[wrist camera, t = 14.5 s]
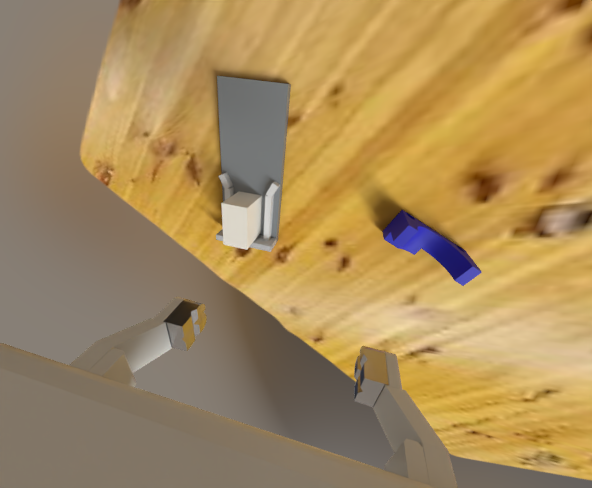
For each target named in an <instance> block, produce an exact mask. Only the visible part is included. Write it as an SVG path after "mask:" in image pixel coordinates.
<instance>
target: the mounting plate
mask: <svg viewBox="0 0 592 488" xmlns="http://www.w3.org/2000/svg"><path fill="white" fill-rule="evenodd" d="M217 85H218V106H219V127H220V147H221V168H222V175H219V178H220V180H221V182H222V189H223V202H224V201H225V200H227V199H228V198H230V197H231V196H233V195H234V194H236V193H237V192H239V191H240V192H246V193H251V194H256V195H262V207H261V232H260V234H259V236H258V237H257V238H256V239H255V240H254V242H253V243H252V244H251V245H250V247H252V248H256V249H261V250H265V251H270V252H271V250H272V249H273V247H274V246H275V244H276V242H277V241H278V233H279V220H280V208H281V196H282V184H283V172H284V160H285V148H286V135H287V123H288V111H289V99H290V87H291V85H290V84H285V83H276V82H267V81H259V80H250V79H242V78H233V77H224V76H217ZM216 240H220V241H223V229H222V230H221V231H220V232H219V233H217V234H216Z"/></svg>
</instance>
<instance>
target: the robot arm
mask: <svg viewBox="0 0 592 488" xmlns="http://www.w3.org/2000/svg"><path fill="white" fill-rule="evenodd" d="M204 310H205V305H204V304H201V303H198V302H194V301H191V300H188V299H184V298H180V297H176V298H174V299H173V300H172V301H171V302H170V303H169V304H168V305H167V306H166V307H165V308H164V309H163V310H162V311H161V312H160V313H159V314H158V315H157V316H156V317H155V318H154V319H148V320H146V321H143V322H141V323H138V324H136V325H134V326H131V327H129V328H127V329H124V330H122V331H119V332H117V333H115V334H113V335H110V336H108V337H105V338H103V339H101V340H98V341H96V342H95V343H94V344H93V345H92V346H90V347H89V348H88V349H87V350H86V351H85V352H84V353H82V354H81V355H80V356H79V357H78V358H77V359H76V360H74V361H73V362H72V363H71V364H70V365H66V364H63V363H60V362H57V361H54V360H51V359H48V358H45V357H42V356H39V355H36V354H33V353H30V352H27V351H24V350H21V349H18V348H15V347H12V346H10V345H7V344H4V343H0V488H458V487H457V483H456V479H455V475H454V472H453V468H452V464H451V460H450V457H449V453H448V450H447V448H446V447H445V446H444V444H443V443H442V441H441V440H440V439H439V437H438V436H437V434H436V433H435V431H434V430H433V429H432V427H431V426H430V424H429V423H428V422H427V420H426V419H425V417H424V416H423V415H422V413H421V412H420V410H419V409H418V407H417V406H416V405H415V403H414V402H413V400H412V399H411V398H410V396H409V395H408V393H407V392H406V391H405V390H402V386H401V379H400V373H399V367H398V361H397V356H396V355H395V354H392V353H388V352H385V351H382V350H378V349H374V348H370V347H366V346H362V347H361V349H360V356H358V357H357V360H356V364H355V375H354V377H355V379H356V380H357V381H356V383H355V386H354V401H356V402H358V403H362V404H365V405H368V406H371V407H373V409H374V411H375V414H376V416H377V418H378V420H379V422H380V424H381V426H382V428H383V430H384V433H385V435H386V436H387V439H388V441H389V443H390V445H391V447H392V449H393V451H394V455H393V456H392V457H391V458H390V459H389V461H388V462H387V463H386V465H385V470H382V469H379V468H376V467H373V466H370V465H367V464H364V463H361V462H358V461H355V460H352V459H349V458H346V457H343V456H340V455H337V454H334V453H331V452H328V451H325V450H322V449H319V448H316V447H313V446H310V445H307V444H304V443H301V442H298V441H295V440H292V439H289V438H286V437H283V436H280V435H277V434H274V433H271V432H268V431H265V430H262V429H259V428H255V427H253V426H250V425H247V424H243V423H241V422H238V421H235V420H232V419H229V418H226V417H223V416H220V415H217V414H214V413H211V412H208V411H205V410H202V409H199V408H195V407H193V406H190V405H187V404H184V403H181V402H178V401H175V400H172V399H169V398H166V397H163V396H160V395H157V394H154V393H151V392H148V391H145V390H142V389H139V388H136V387H134V386H135V385H136V379H135V377H134V375H133V373H134V372H135V371H136V370H138V369H140V368H141V367H143V366H144V365H146V364H148V363H149V362H151V361H152V360H154V359H156V358H157V357H159V356H160V355H162V354H163V353H165V352H167V351H168V350H170V349H171V348H172V347H173V348H176V349H180V350H184V351H188V350H189V348H190V347H191V345H192V344H193V342H194V341H195V336H196V335H198V334H200V333H201V331H202V330H203V329H204V326H205V324H206V315H205V313H204Z"/></svg>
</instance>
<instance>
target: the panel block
mask: <svg viewBox="0 0 592 488" xmlns="http://www.w3.org/2000/svg"><path fill="white" fill-rule="evenodd" d="M221 205H222V225H223V244H224V245H229V246H233V247H238V248H242V249H248V248H249V247H250V245H251V244H252V243H253V242H254V240H255V239H256V238H257V237H258V236H259V234H260V232H261V207H262V195H256V194H251V193H246V192H240V191H239V192H237V193H236V194H234V195H233V196H231V197H230V198H228V199H227V200H225V201H224V202H222V203H221Z"/></svg>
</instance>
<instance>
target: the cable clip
mask: <svg viewBox="0 0 592 488" xmlns="http://www.w3.org/2000/svg"><path fill="white" fill-rule="evenodd" d="M382 232H383V237H384V240H386V241H387V242H389V243H391V244H392V245H394V246H395V247H397V248H400V249H404V250H406V251H408V252H410V253H412V254H414V255H415V254H416V253H417V252H418V251H419V250H420V249H421V248H422V249H423V250H425V251H426V252H427V253H429V254H430V255H431V256H433V257H434V258H435V259H436V260H437V261H438V262H439V263H440V264H441V265H442V266H443V267H444V268H445V269H446V270H447V271H448V272H449V273H450V275H451V276H452V277H453V279H454V280H455V281H456V282H458V283H459V284H461V285H462V286H464V285H465V284H466V283H468V282H469V281H470V280H472V279H473V278H475V277H476V276H477V275H479V274H480V273H481V270H480V269H479V268H478V267H477V265H476V264H475V263H474V261H473V260H472V259H471V258H470V256H469V255H468V254H467V252H466V251H465V250H463V249H462V248H460V247H459V246H457V245H456V244H454V243H453V242H451V241H450V240H448V239H446V238H445V237H443V236H442V235H440V234H439V233H437V232H436V231H434V230H433V229H431V228H430V227H428V226H426V225H425V224H423V223H422V222H420V221H419V220H417V219H416V218H414V217H413V216H411V215H410V214H408V213H407V212H405V211H403V210H401V211H400V213H399V214H398V215H397V216H396V217H395V218H394V219H393V220H392V221H391V223H390V224H389V225H388V226H387V227H386V228H385V229H384V230H383V231H382Z"/></svg>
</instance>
